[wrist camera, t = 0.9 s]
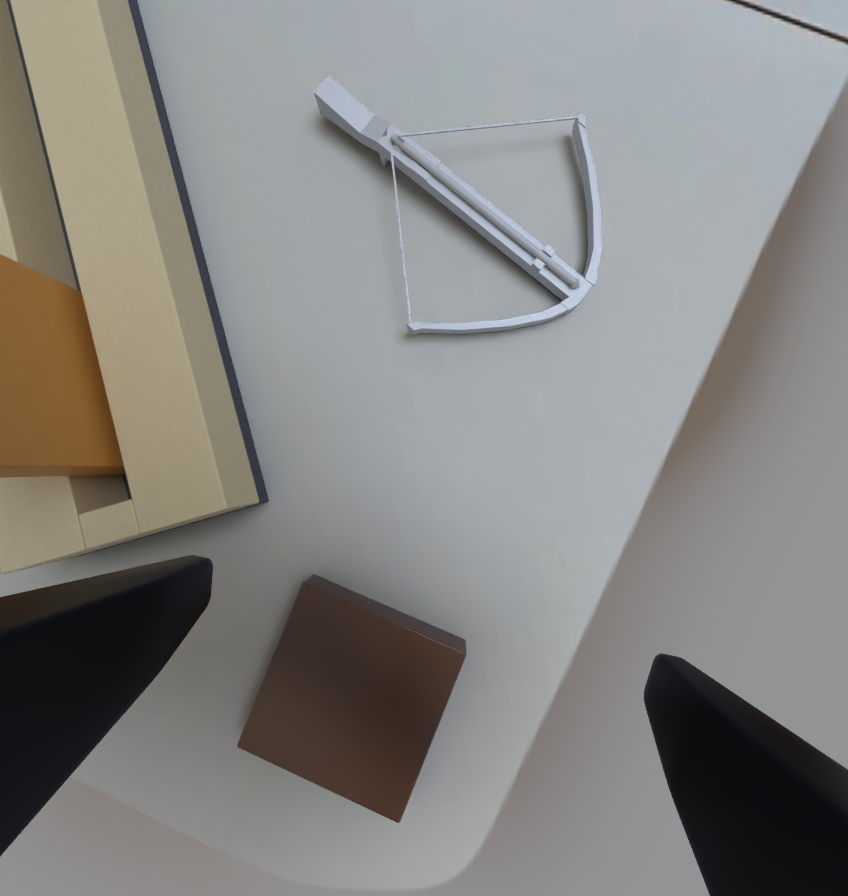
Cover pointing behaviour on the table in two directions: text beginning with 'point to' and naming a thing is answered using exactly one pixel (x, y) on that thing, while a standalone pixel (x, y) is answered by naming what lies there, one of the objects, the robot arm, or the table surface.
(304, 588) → the bread board
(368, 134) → the crossbow
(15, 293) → the toast
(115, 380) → the toaster
